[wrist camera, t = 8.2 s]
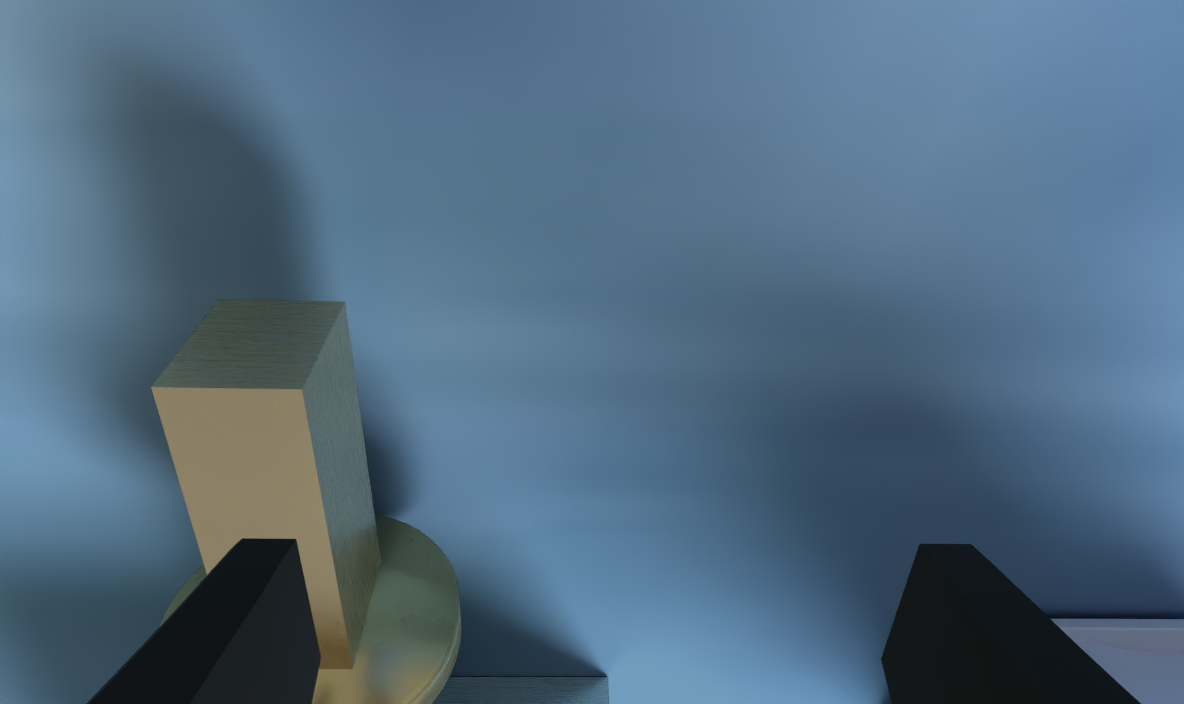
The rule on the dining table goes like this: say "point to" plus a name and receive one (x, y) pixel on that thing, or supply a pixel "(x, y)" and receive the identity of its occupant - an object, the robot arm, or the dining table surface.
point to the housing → (524, 690)
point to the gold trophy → (307, 493)
